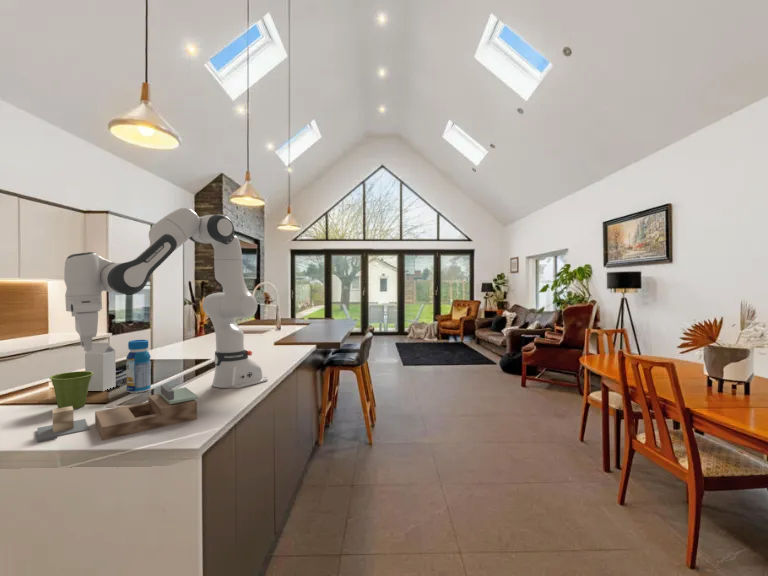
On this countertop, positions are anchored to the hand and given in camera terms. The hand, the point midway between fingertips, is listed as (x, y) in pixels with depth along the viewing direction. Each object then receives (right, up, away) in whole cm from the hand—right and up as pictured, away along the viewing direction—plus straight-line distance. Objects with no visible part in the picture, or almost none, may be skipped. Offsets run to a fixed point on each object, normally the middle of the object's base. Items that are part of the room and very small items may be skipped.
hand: (86, 348), depth 119 cm
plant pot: (-15, -23, +13) cm, 30 cm away
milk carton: (-21, -22, +35) cm, 46 cm away
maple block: (-1, -22, -8) cm, 23 cm away
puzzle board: (+20, -23, -1) cm, 30 cm away
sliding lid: (+26, -16, +5) cm, 31 cm away
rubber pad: (-1, -23, -8) cm, 24 cm away
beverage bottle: (-5, -22, +33) cm, 40 cm away
